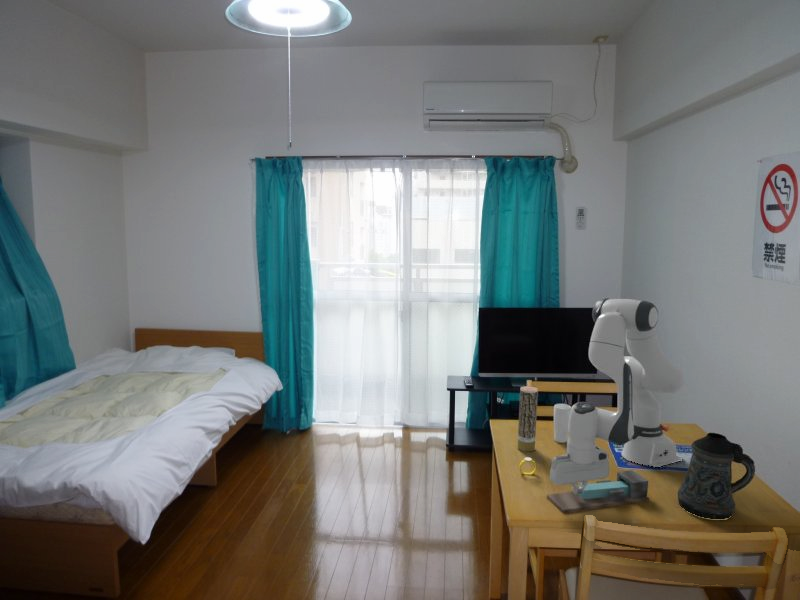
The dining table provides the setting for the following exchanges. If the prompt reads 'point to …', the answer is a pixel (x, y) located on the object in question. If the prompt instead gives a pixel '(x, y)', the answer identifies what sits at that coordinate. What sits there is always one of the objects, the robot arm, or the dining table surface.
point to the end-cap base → (576, 503)
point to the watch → (527, 461)
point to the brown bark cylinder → (527, 418)
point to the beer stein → (713, 477)
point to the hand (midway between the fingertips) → (578, 492)
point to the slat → (604, 489)
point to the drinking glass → (561, 422)
